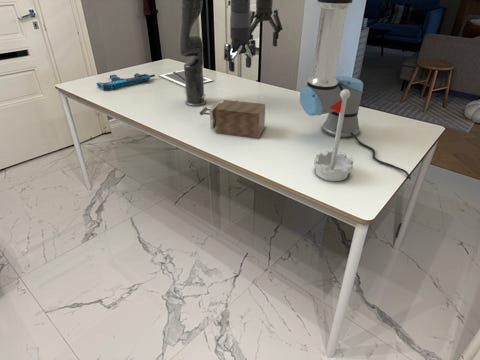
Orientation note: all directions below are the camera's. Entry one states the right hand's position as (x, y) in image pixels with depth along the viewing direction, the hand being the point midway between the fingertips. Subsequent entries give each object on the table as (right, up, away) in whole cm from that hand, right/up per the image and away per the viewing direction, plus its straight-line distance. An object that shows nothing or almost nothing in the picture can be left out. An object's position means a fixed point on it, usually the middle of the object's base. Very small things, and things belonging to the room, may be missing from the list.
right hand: (262, 47), depth 166 cm
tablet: (-46, 0, +50) cm, 68 cm away
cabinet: (-11, -43, -16) cm, 47 cm away
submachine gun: (-82, -4, +44) cm, 93 cm away
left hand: (-11, -21, -31) cm, 39 cm away
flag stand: (+21, -63, -46) cm, 80 cm away
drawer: (-17, -41, -15) cm, 47 cm away
